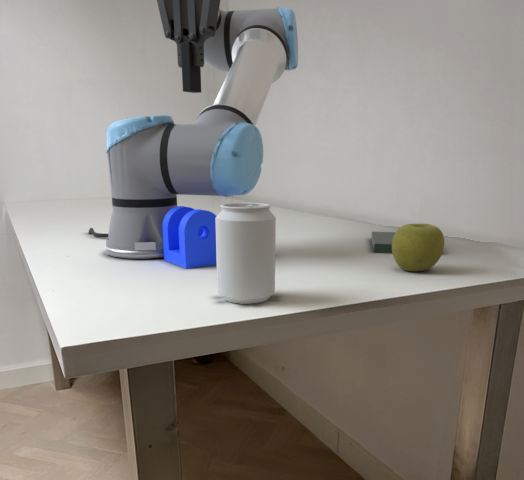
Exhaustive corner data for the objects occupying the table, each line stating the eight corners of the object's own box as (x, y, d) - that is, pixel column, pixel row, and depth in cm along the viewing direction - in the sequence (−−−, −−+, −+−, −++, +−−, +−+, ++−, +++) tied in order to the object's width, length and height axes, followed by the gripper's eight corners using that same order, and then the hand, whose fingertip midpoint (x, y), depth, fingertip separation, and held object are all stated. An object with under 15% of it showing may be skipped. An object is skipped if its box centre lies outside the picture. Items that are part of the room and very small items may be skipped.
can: (218, 291, 76) (215, 200, 71) (272, 290, 76) (273, 200, 72) (216, 305, 69) (213, 206, 64) (276, 305, 69) (278, 206, 65)
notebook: (373, 252, 104) (374, 243, 103) (371, 239, 119) (371, 231, 118) (439, 254, 102) (440, 245, 102) (428, 240, 117) (429, 232, 116)
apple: (445, 275, 85) (450, 228, 82) (391, 274, 86) (395, 227, 83) (436, 266, 92) (441, 222, 89) (387, 264, 93) (391, 221, 90)
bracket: (186, 268, 90) (183, 211, 87) (164, 260, 96) (161, 207, 93) (276, 257, 99) (276, 205, 96) (251, 250, 106) (250, 201, 103)
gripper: (129, -99, 75) (142, 91, 84) (208, -119, 70) (214, 87, 78) (163, -80, 82) (172, 95, 90) (239, -98, 76) (241, 92, 84)
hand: (192, 91), depth 84 cm, fingers closed
